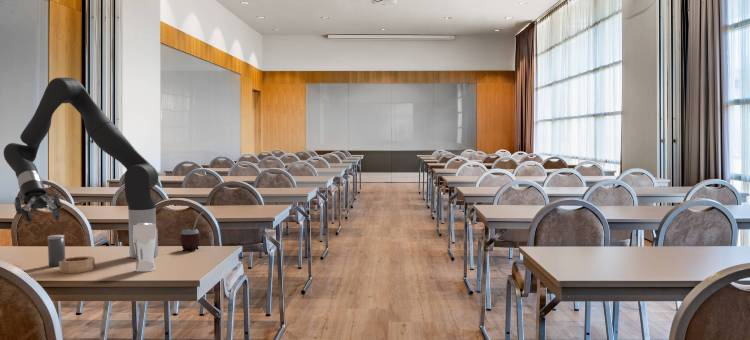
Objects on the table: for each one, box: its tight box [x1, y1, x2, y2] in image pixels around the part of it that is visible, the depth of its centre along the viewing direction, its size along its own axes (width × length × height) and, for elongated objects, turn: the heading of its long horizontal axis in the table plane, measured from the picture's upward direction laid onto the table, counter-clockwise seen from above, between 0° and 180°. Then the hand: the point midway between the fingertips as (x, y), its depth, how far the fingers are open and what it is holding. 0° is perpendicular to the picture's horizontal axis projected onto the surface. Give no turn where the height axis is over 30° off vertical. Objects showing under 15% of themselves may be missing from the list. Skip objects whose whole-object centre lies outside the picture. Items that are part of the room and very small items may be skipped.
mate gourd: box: [180, 210, 205, 252], centre depth 234 cm, size 8×8×15 cm
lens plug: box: [47, 234, 66, 268], centre depth 208 cm, size 5×5×10 cm
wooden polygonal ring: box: [58, 255, 96, 274], centre depth 200 cm, size 10×10×4 cm
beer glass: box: [133, 222, 157, 273], centre depth 198 cm, size 7×7×15 cm
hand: (43, 220), depth 215 cm, fingers open, 8 cm apart
